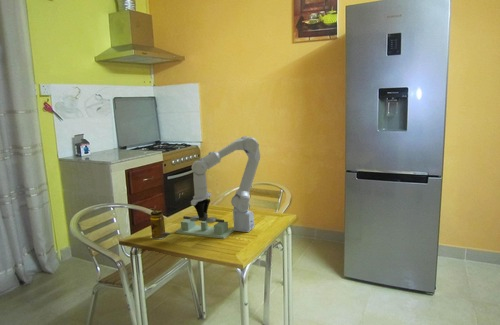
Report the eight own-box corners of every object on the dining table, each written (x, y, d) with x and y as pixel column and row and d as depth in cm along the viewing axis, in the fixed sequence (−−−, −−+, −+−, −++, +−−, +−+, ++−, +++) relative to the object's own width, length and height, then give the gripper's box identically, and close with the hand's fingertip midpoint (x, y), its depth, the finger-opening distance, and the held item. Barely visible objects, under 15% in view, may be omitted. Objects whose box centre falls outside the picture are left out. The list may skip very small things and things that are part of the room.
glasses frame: (226, 220, 150) (225, 213, 150) (221, 224, 146) (220, 216, 145) (186, 216, 158) (186, 209, 158) (180, 220, 154) (180, 213, 153)
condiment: (148, 238, 152) (145, 213, 150) (159, 231, 160) (157, 207, 158) (161, 240, 149) (158, 214, 147) (172, 233, 157) (170, 208, 155)
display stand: (234, 231, 156) (233, 220, 155) (224, 238, 147) (223, 228, 146) (187, 225, 166) (186, 216, 165) (175, 232, 157) (174, 222, 156)
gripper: (201, 183, 158) (203, 210, 160) (183, 190, 144) (186, 220, 147) (214, 183, 155) (216, 211, 157) (197, 191, 142) (200, 221, 144)
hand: (202, 216), depth 152 cm, fingers closed on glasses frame, 2 cm apart
